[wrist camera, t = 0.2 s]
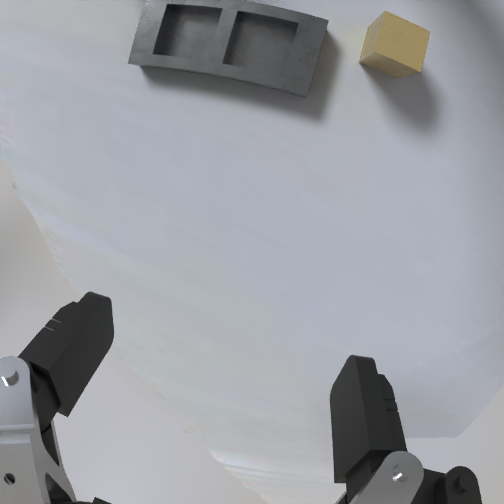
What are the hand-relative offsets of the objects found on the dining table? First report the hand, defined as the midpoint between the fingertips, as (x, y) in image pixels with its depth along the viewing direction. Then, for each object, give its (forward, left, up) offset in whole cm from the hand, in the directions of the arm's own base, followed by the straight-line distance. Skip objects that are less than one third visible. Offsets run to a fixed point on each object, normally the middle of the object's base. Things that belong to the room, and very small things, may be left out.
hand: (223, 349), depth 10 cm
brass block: (-18, +8, -29) cm, 35 cm away
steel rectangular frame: (-14, -9, -29) cm, 33 cm away
